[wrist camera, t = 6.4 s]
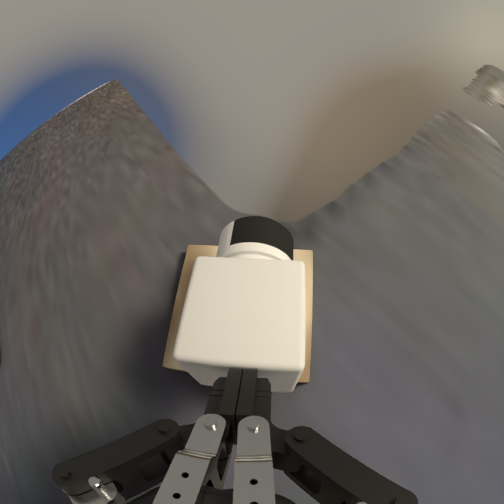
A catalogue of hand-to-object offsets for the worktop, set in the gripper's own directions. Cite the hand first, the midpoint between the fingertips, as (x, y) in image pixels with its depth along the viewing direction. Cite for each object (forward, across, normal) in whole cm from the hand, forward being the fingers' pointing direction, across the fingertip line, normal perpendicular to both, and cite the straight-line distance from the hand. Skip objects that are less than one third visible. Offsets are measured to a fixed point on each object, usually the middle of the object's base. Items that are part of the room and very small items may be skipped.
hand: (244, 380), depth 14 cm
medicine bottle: (+2, 0, +2) cm, 3 cm away
